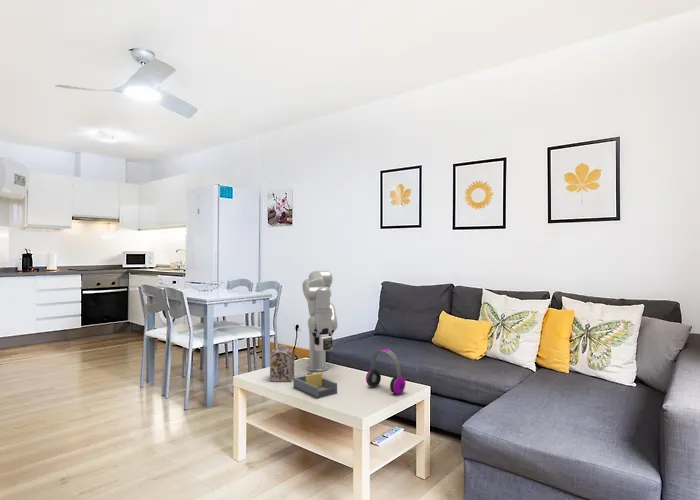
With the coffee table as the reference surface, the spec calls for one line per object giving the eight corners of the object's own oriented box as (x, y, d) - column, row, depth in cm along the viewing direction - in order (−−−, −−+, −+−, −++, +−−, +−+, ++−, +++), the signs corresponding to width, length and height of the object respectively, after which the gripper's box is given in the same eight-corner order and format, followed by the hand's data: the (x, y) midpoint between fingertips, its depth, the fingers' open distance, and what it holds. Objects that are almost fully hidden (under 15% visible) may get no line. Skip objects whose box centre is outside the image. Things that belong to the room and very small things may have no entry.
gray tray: (293, 387, 218) (293, 378, 218) (313, 383, 225) (313, 373, 225) (316, 398, 201) (316, 387, 201) (337, 393, 209) (337, 383, 209)
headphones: (364, 387, 218) (364, 348, 219) (375, 383, 225) (375, 345, 225) (395, 397, 204) (395, 354, 204) (407, 392, 210) (407, 351, 210)
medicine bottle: (323, 351, 225) (323, 329, 226) (314, 350, 230) (313, 327, 230) (332, 349, 231) (332, 327, 231) (323, 347, 235) (323, 326, 236)
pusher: (301, 387, 214) (301, 373, 214) (316, 383, 220) (316, 370, 220) (307, 389, 210) (307, 375, 210) (322, 386, 216) (322, 372, 216)
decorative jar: (291, 382, 228) (291, 348, 228) (269, 381, 228) (269, 348, 229) (294, 375, 240) (294, 343, 240) (274, 375, 240) (274, 343, 240)
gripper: (331, 309, 239) (331, 340, 239) (305, 311, 228) (305, 344, 228) (340, 310, 234) (340, 342, 233) (313, 312, 223) (313, 346, 222)
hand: (323, 343), depth 231 cm, fingers closed on medicine bottle, 7 cm apart
